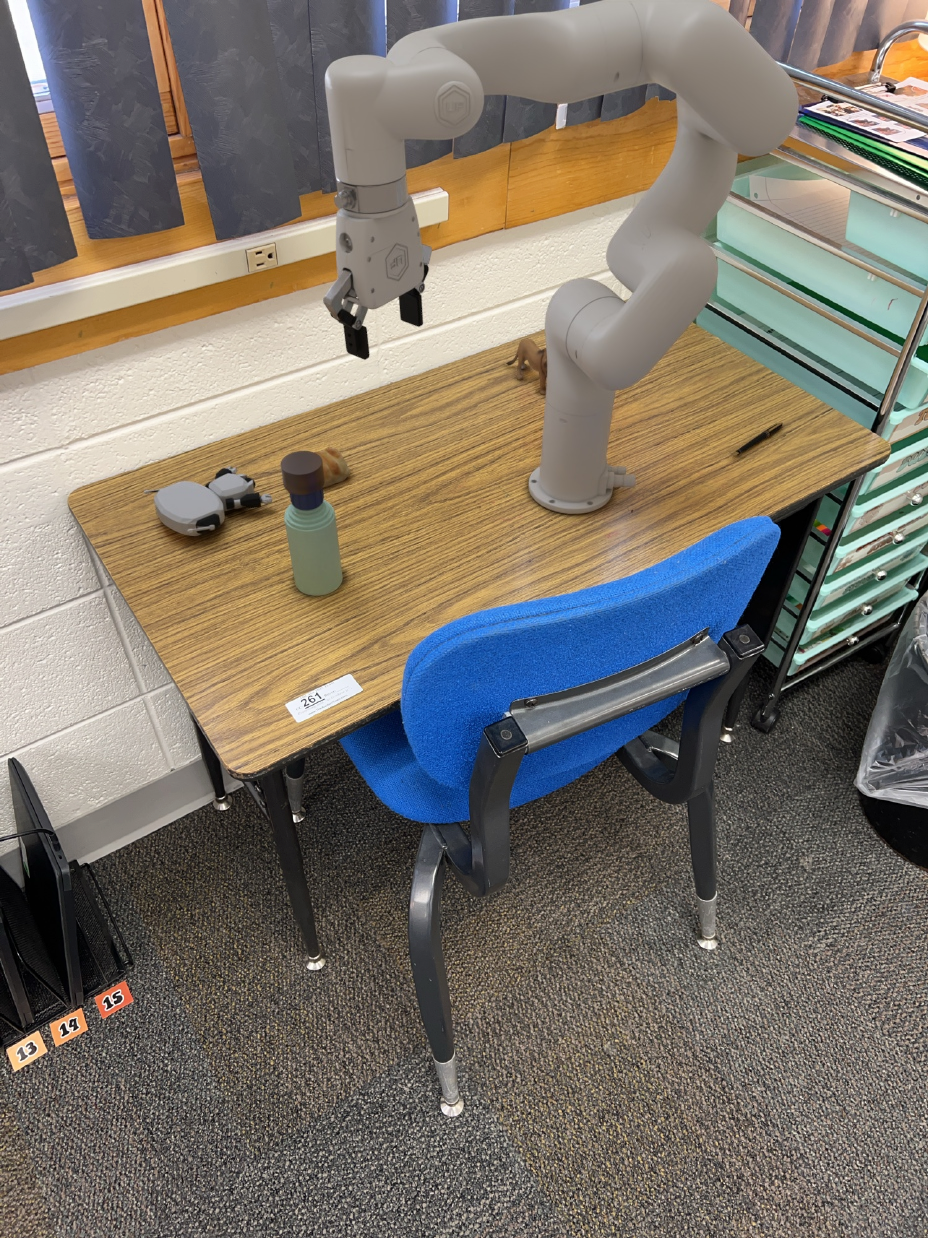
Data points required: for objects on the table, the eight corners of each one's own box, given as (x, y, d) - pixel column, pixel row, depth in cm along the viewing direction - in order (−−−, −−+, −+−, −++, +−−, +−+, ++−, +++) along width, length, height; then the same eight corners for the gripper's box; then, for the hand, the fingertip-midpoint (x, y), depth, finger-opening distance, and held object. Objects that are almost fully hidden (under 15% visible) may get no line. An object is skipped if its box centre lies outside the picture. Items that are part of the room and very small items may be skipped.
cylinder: (328, 471, 114) (325, 451, 112) (320, 495, 110) (318, 475, 108) (288, 469, 114) (285, 449, 112) (279, 494, 110) (276, 473, 108)
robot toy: (233, 480, 141) (144, 514, 133) (230, 454, 138) (138, 488, 130) (279, 516, 134) (188, 555, 126) (277, 490, 131) (183, 528, 123)
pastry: (301, 501, 136) (297, 479, 133) (277, 480, 139) (274, 459, 137) (353, 477, 140) (351, 456, 137) (330, 458, 144) (327, 437, 141)
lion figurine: (577, 392, 158) (583, 343, 152) (557, 403, 155) (561, 354, 149) (515, 361, 165) (518, 314, 159) (495, 371, 163) (496, 324, 157)
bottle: (346, 565, 125) (335, 471, 114) (338, 597, 121) (326, 502, 110) (300, 563, 126) (285, 469, 115) (290, 594, 121) (274, 500, 110)
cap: (326, 491, 115) (324, 473, 113) (320, 511, 112) (318, 493, 110) (294, 490, 115) (292, 472, 114) (288, 509, 113) (285, 491, 111)
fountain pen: (733, 461, 143) (735, 453, 142) (727, 458, 144) (729, 450, 143) (785, 427, 150) (787, 419, 149) (778, 424, 151) (781, 417, 150)
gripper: (342, 226, 92) (359, 378, 104) (450, 174, 101) (454, 319, 113) (289, 209, 95) (312, 359, 107) (398, 160, 104) (408, 303, 117)
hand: (385, 338), depth 110 cm, fingers open, 9 cm apart
